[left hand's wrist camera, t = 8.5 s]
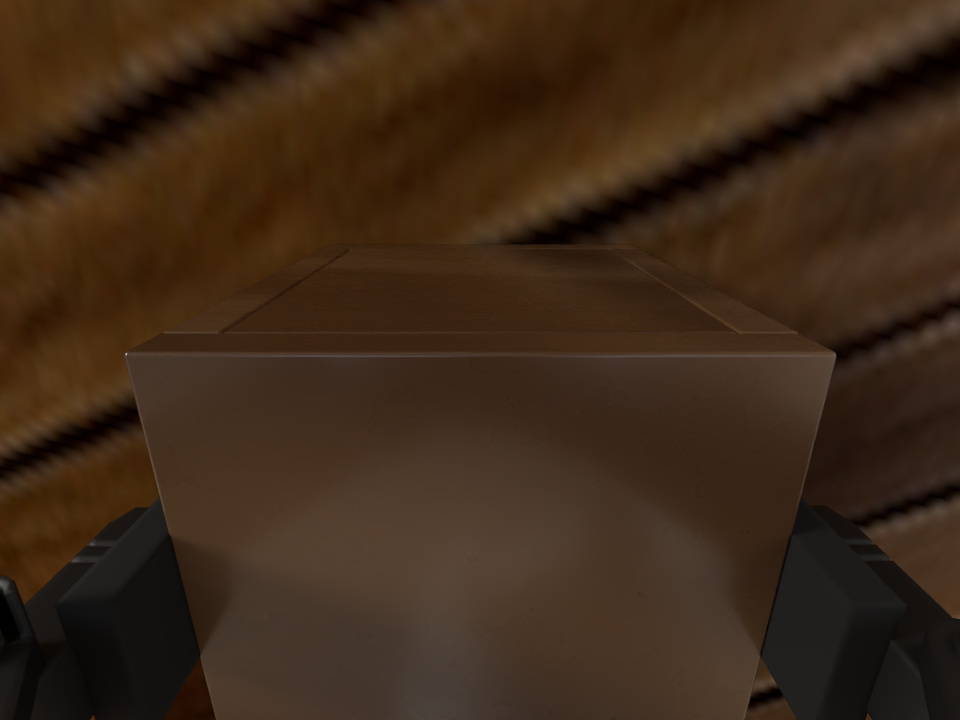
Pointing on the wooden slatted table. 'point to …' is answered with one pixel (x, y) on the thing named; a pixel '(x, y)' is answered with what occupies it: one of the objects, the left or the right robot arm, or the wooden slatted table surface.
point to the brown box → (480, 484)
